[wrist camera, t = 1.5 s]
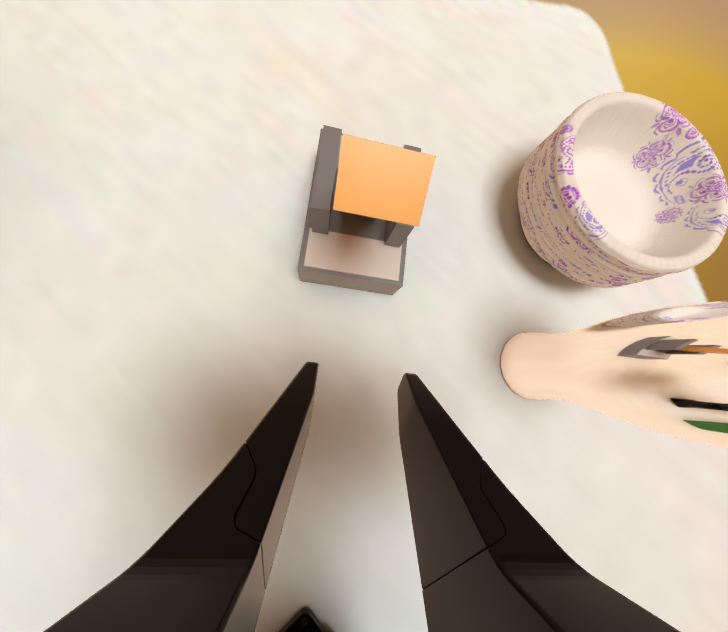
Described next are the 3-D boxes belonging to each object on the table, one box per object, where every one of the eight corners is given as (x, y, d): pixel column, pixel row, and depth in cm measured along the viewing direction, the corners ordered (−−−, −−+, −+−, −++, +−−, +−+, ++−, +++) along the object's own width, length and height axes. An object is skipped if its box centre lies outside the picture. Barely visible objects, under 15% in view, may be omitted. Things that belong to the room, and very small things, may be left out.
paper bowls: (466, 195, 26) (526, 128, 19) (567, 139, 30) (654, 62, 22) (552, 325, 26) (652, 311, 18) (646, 252, 29) (765, 214, 21)
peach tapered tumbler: (480, 363, 24) (738, 373, 9) (526, 312, 25) (808, 252, 11) (533, 420, 24) (875, 523, 9) (575, 366, 25) (926, 380, 11)
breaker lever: (381, 220, 21) (418, 226, 11) (336, 211, 21) (332, 209, 11) (388, 185, 20) (435, 155, 10) (341, 175, 20) (342, 134, 10)
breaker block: (392, 295, 23) (418, 272, 17) (300, 280, 22) (292, 250, 16) (404, 174, 25) (432, 114, 19) (321, 156, 24) (321, 85, 18)
